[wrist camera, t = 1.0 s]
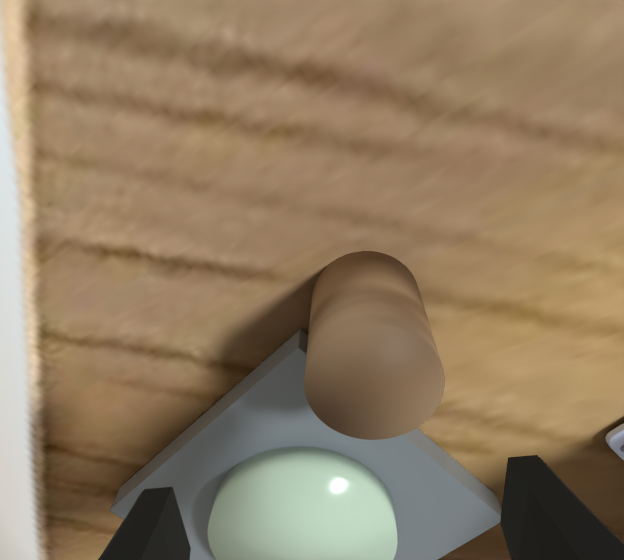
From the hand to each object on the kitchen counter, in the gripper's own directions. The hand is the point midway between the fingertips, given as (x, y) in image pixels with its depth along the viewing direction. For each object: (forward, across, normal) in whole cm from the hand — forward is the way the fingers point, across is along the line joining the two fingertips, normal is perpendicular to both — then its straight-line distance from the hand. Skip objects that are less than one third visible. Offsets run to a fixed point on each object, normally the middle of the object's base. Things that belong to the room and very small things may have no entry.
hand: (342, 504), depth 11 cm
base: (+12, +2, +13) cm, 18 cm away
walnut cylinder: (+12, -2, +2) cm, 12 cm away
